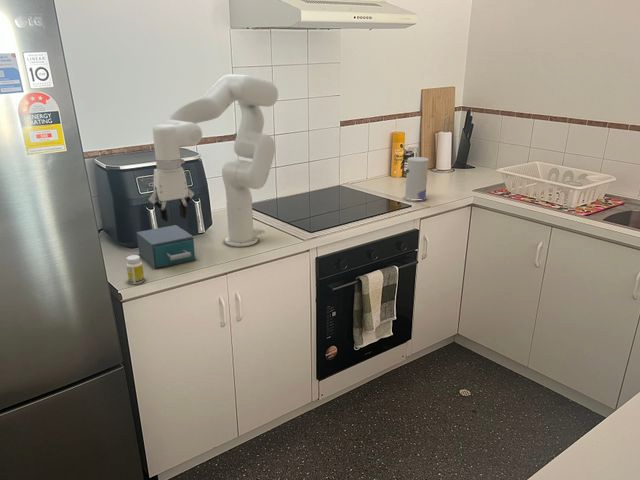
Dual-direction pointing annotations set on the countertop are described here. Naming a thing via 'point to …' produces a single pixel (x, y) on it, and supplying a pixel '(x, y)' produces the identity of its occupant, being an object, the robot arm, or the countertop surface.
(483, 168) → the countertop surface
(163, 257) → the drawer
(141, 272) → the supplement bottle
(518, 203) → the countertop surface
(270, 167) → the robot arm
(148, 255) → the drawer cabinet
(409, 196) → the container
